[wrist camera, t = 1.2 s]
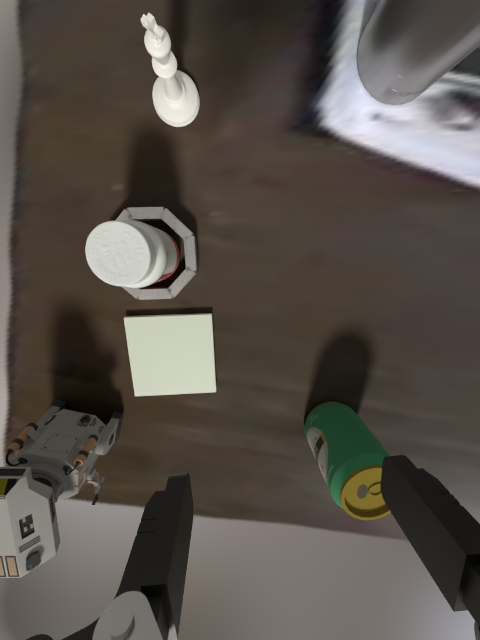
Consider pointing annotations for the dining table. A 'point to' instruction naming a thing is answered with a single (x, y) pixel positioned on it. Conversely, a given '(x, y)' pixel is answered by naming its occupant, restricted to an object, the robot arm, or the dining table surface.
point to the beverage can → (348, 459)
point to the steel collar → (189, 248)
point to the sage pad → (171, 353)
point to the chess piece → (169, 79)
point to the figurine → (47, 482)
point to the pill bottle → (131, 253)
